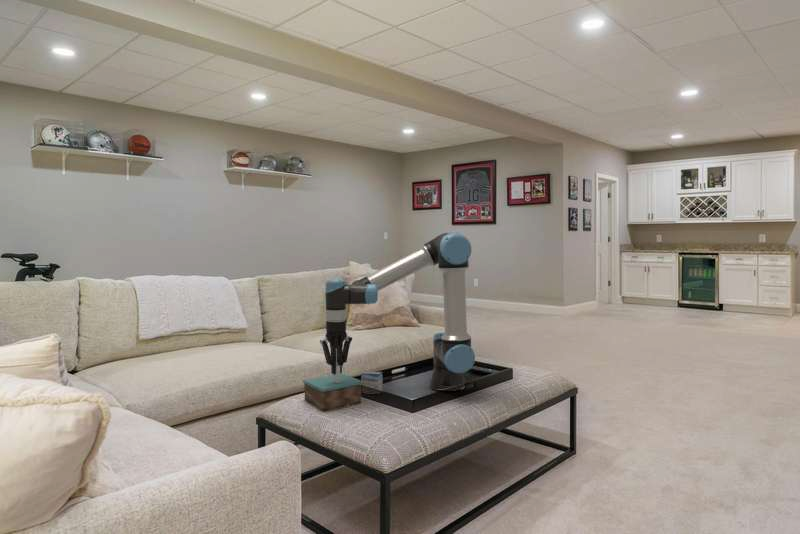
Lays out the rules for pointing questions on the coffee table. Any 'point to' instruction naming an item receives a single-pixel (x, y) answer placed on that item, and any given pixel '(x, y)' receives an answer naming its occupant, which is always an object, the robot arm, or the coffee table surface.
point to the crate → (332, 397)
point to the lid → (328, 384)
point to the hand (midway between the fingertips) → (336, 381)
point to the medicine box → (372, 379)
